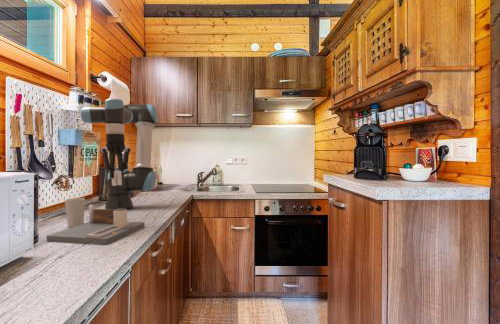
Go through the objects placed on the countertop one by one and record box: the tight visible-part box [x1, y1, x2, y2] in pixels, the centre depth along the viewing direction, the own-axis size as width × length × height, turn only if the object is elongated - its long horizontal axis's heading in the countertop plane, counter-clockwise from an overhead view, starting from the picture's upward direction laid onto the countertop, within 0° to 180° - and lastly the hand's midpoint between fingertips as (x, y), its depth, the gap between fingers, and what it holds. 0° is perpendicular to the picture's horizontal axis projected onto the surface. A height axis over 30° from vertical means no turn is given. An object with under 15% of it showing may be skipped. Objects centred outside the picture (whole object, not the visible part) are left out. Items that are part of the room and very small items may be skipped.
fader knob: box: [113, 208, 128, 228], centre depth 117 cm, size 4×4×7 cm
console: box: [46, 204, 145, 245], centre depth 115 cm, size 24×26×10 cm
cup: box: [64, 197, 86, 228], centre depth 129 cm, size 8×8×12 cm
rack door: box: [94, 208, 115, 224], centre depth 122 cm, size 2×12×6 cm, turn 78°
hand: (116, 185), depth 127 cm, fingers open, 2 cm apart
